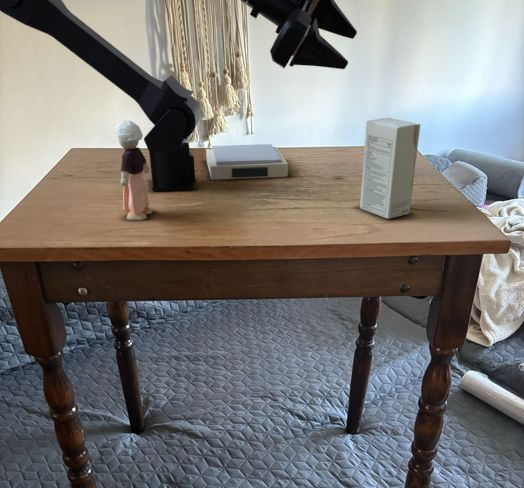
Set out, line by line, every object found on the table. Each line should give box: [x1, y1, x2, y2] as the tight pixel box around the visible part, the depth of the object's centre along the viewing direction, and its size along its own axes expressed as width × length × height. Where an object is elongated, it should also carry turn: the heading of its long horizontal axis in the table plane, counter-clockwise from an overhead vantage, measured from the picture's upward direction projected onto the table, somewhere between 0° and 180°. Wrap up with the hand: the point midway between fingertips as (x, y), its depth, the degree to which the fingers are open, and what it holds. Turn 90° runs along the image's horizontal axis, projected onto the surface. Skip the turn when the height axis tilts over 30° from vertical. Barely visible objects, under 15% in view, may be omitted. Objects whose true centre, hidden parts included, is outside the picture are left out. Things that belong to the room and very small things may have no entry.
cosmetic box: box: [359, 117, 421, 219], centre depth 78 cm, size 6×4×12 cm
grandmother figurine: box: [115, 119, 153, 221], centre depth 75 cm, size 8×4×13 cm, turn 178°
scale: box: [205, 143, 289, 181], centre depth 98 cm, size 13×12×3 cm
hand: (351, 50), depth 80 cm, fingers open, 9 cm apart
